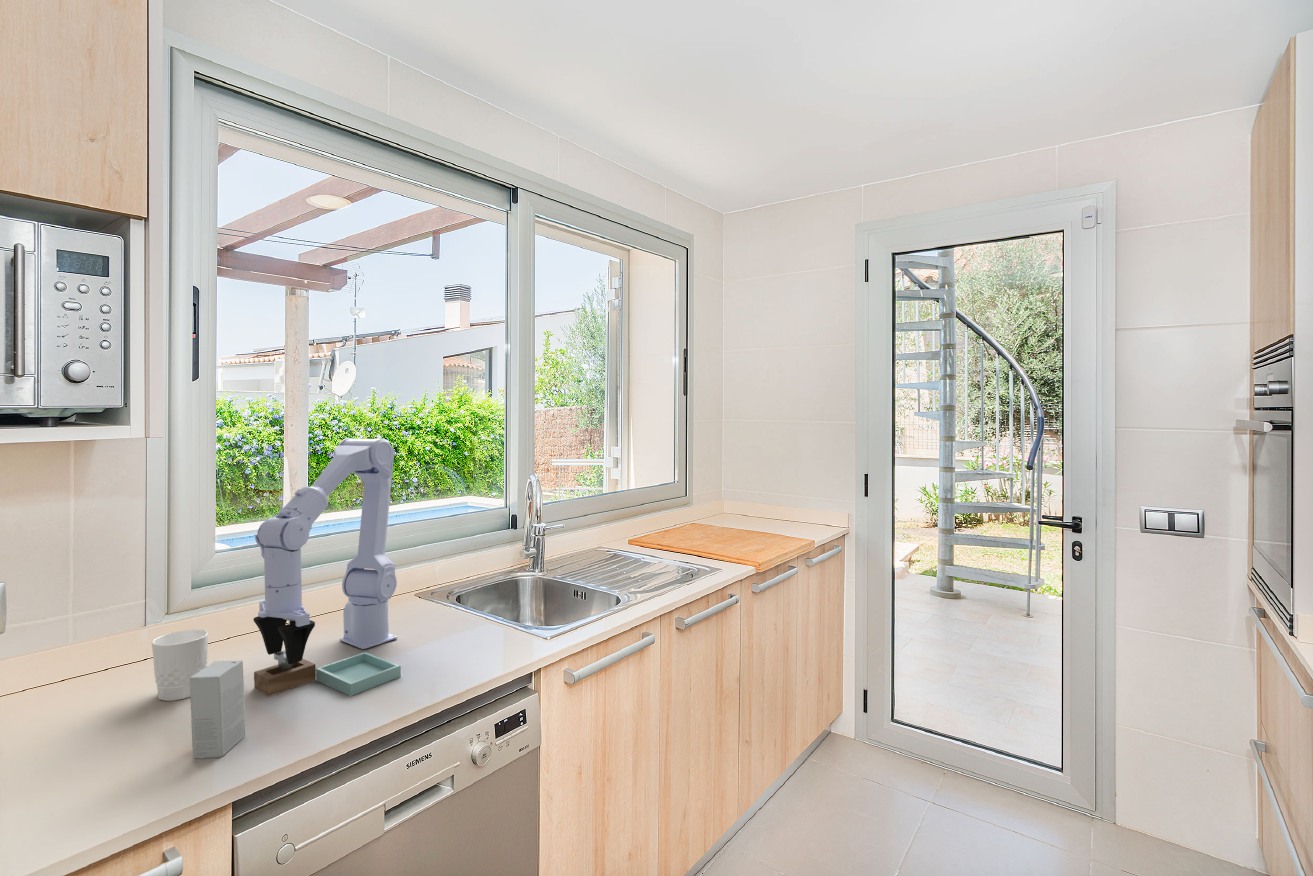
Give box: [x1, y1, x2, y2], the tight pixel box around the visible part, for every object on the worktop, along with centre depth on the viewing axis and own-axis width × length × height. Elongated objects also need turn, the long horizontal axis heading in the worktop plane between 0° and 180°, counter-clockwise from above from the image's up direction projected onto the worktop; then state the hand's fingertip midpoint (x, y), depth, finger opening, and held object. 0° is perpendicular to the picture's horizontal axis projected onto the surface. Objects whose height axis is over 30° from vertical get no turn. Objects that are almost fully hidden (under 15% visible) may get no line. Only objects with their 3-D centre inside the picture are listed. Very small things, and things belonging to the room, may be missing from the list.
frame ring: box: [253, 658, 317, 697], centre depth 113 cm, size 6×8×3 cm
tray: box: [315, 651, 402, 697], centre depth 116 cm, size 12×10×2 cm
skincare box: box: [189, 660, 247, 759], centre depth 91 cm, size 6×4×12 cm
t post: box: [273, 649, 292, 673], centre depth 113 cm, size 4×2×6 cm, turn 56°
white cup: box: [151, 628, 209, 702], centre depth 109 cm, size 8×8×10 cm
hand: (284, 657), depth 113 cm, fingers open, 7 cm apart
